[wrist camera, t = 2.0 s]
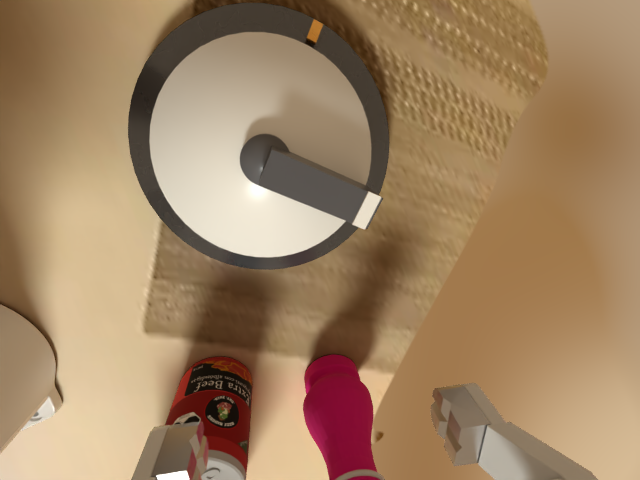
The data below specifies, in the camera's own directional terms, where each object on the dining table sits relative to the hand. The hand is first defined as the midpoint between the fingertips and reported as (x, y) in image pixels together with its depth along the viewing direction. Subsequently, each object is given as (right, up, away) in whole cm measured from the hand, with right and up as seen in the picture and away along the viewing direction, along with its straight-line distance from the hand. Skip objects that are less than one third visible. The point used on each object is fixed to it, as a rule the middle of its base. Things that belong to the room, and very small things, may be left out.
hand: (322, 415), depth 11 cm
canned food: (-11, -10, +24) cm, 28 cm away
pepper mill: (+1, -10, +26) cm, 28 cm away
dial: (-4, +13, +14) cm, 19 cm away
